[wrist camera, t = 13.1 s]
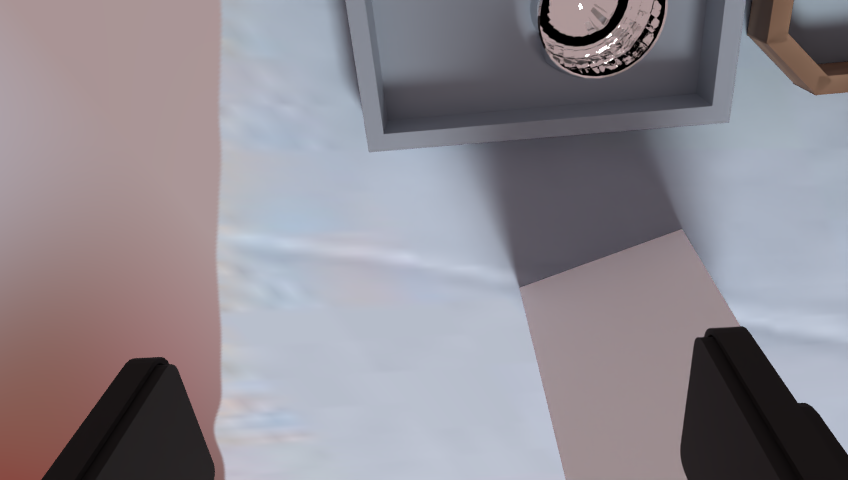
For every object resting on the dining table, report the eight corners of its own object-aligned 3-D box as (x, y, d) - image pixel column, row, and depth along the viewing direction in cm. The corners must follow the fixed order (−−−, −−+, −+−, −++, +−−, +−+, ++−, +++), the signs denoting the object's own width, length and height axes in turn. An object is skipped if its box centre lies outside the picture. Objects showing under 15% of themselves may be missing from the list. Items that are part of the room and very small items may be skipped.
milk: (519, 287, 43) (587, 710, 21) (682, 228, 40) (969, 644, 18) (575, 404, 48) (679, 848, 26) (723, 358, 45) (989, 813, 23)
